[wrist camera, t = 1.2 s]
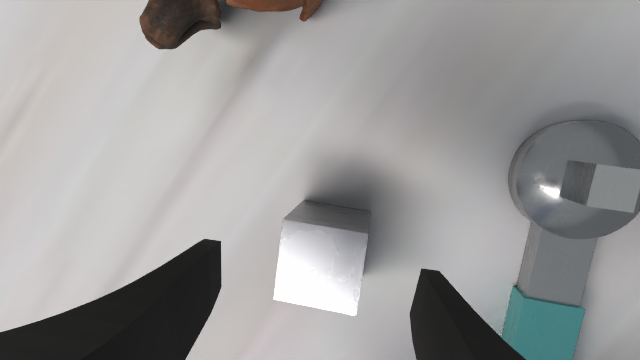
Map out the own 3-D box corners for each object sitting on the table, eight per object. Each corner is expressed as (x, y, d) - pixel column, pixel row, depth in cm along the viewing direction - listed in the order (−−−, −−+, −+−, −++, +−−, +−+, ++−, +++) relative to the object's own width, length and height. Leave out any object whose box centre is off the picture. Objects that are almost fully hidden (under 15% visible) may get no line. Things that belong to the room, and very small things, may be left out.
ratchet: (574, 391, 21) (618, 448, 18) (467, 368, 22) (486, 418, 18) (644, 128, 19) (714, 127, 15) (521, 114, 20) (556, 109, 16)
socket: (360, 276, 23) (356, 316, 18) (295, 264, 23) (273, 299, 18) (370, 211, 22) (368, 233, 17) (302, 200, 23) (282, 219, 18)
